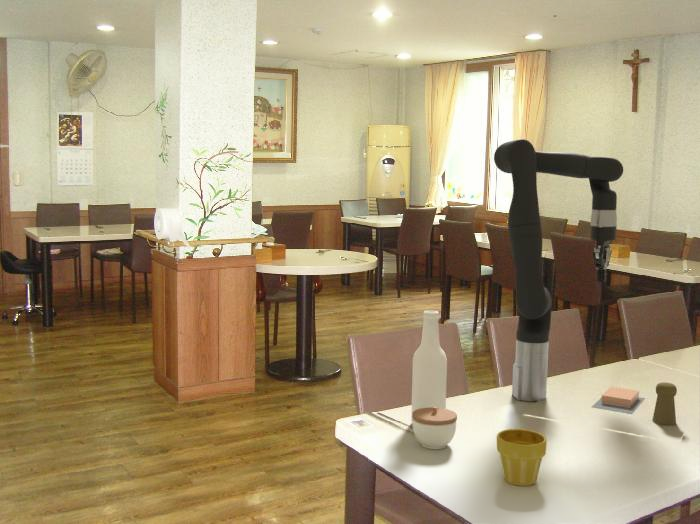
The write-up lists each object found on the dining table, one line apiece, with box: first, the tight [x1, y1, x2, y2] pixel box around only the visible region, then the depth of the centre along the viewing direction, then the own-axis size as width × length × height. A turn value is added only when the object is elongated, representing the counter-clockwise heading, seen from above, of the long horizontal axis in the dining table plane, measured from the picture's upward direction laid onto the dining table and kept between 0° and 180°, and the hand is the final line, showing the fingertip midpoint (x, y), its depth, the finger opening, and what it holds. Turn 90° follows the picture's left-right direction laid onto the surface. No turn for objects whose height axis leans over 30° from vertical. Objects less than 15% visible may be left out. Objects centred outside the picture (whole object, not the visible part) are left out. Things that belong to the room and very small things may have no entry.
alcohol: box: [410, 309, 448, 424], centre depth 202 cm, size 9×9×30 cm
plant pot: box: [496, 428, 547, 487], centre depth 167 cm, size 10×10×10 cm
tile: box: [601, 386, 640, 408], centre depth 225 cm, size 2×8×11 cm
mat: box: [591, 396, 646, 415], centre depth 224 cm, size 18×11×1 cm, turn 148°
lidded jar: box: [411, 407, 458, 450], centre depth 188 cm, size 11×11×9 cm
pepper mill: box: [652, 381, 678, 427], centre depth 206 cm, size 6×6×11 cm
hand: (601, 281), depth 237 cm, fingers closed
